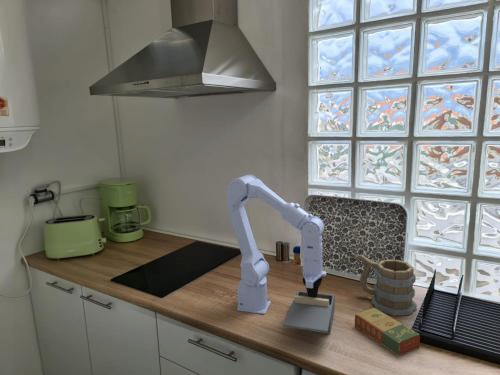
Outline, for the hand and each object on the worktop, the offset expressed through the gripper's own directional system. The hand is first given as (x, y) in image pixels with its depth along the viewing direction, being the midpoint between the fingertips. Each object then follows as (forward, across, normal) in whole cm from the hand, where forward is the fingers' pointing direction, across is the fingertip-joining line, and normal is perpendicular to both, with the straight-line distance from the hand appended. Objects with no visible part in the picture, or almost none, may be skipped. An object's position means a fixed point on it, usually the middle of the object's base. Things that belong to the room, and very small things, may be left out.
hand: (312, 299), depth 109 cm
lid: (+1, -8, 0) cm, 8 cm away
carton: (+7, -4, -21) cm, 22 cm away
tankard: (+7, +16, -21) cm, 27 cm away
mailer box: (+6, 0, 0) cm, 6 cm away
